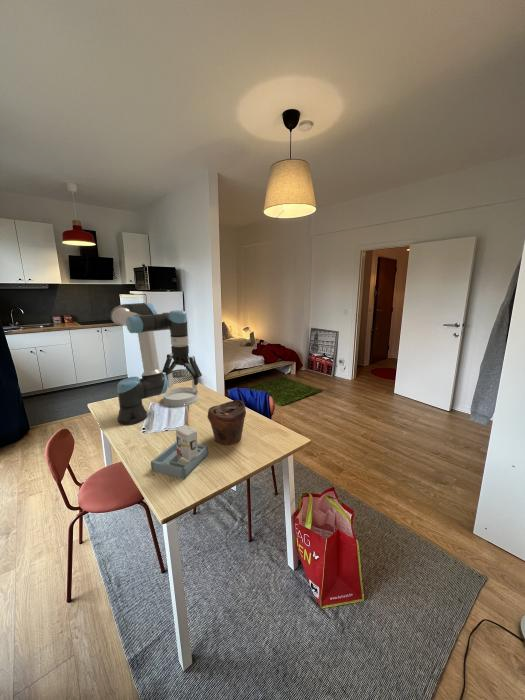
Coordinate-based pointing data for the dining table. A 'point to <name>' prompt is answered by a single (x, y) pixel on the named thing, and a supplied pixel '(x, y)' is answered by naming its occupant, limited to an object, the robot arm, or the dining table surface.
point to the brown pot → (227, 421)
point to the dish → (180, 397)
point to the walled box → (177, 462)
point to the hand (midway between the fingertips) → (182, 389)
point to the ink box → (186, 442)
